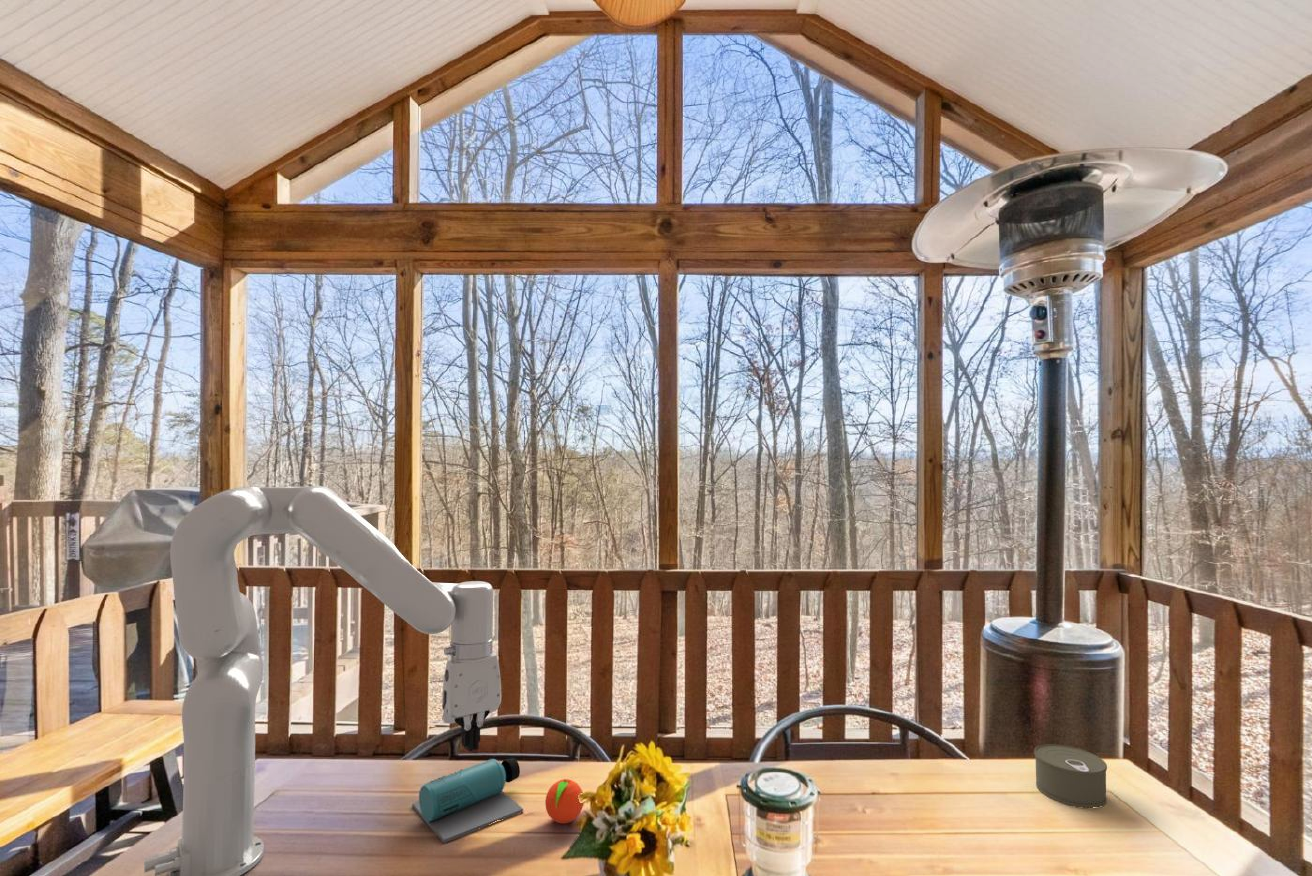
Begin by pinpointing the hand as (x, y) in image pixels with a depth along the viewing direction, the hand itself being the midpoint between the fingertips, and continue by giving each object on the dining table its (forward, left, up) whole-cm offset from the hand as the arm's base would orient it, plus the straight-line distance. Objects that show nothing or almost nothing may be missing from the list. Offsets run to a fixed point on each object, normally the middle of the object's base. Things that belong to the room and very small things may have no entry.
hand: (470, 747), depth 120 cm
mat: (-1, 0, -11) cm, 11 cm away
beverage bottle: (-10, 0, -7) cm, 12 cm away
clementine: (+11, -15, -11) cm, 22 cm away
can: (+93, -70, -11) cm, 117 cm away
